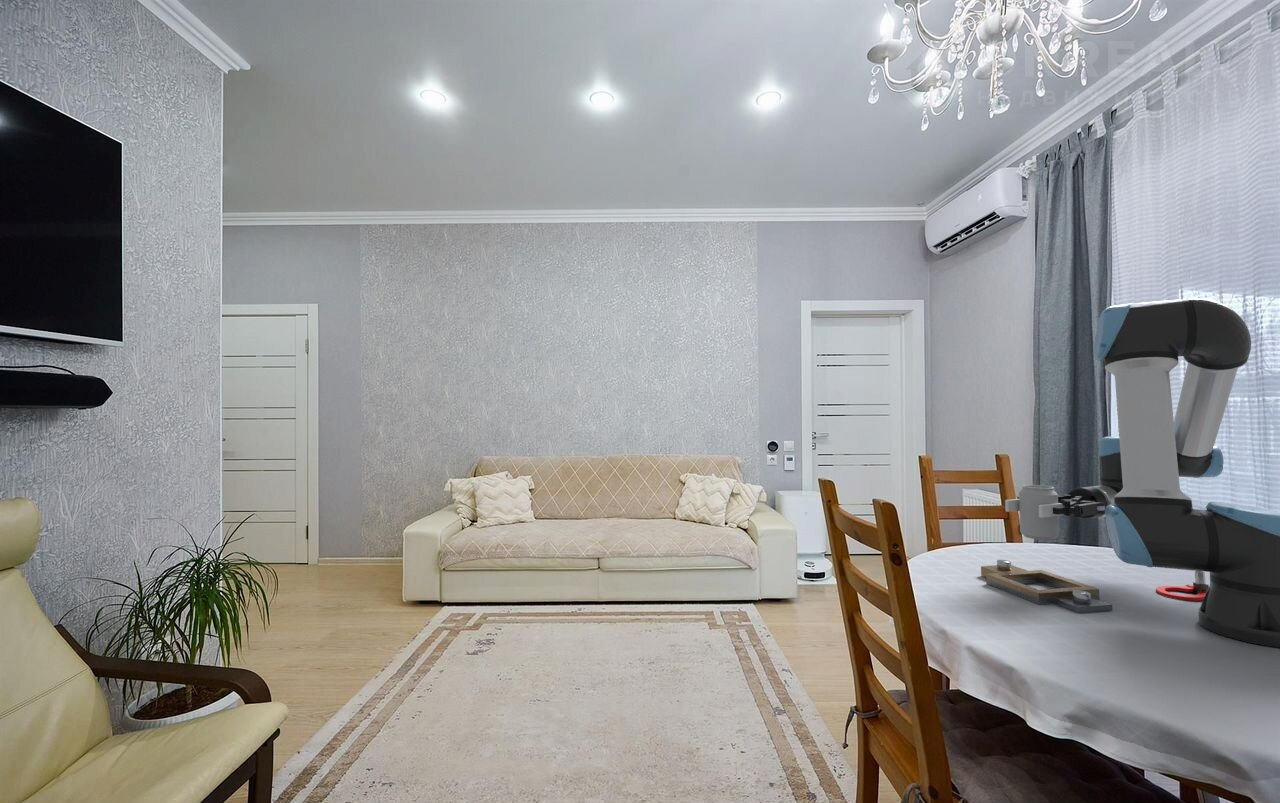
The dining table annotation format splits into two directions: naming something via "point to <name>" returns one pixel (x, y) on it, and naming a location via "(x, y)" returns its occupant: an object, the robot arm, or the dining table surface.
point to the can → (1037, 512)
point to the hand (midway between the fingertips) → (1023, 508)
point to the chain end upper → (1008, 573)
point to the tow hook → (1187, 589)
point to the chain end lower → (1076, 603)
